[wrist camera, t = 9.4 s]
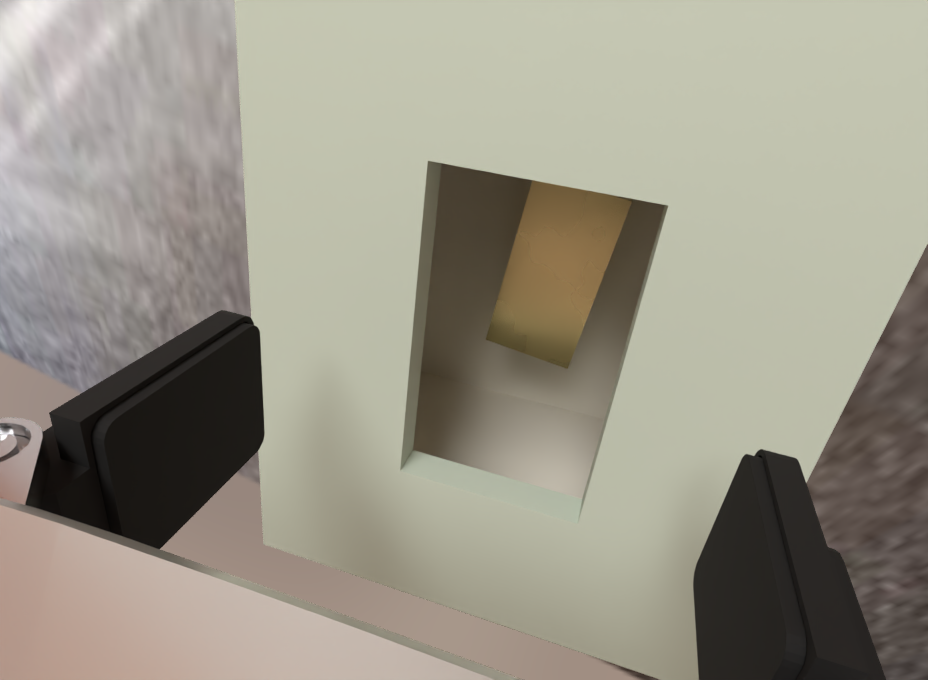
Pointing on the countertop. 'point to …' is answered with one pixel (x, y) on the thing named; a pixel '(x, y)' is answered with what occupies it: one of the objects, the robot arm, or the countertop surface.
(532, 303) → the block
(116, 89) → the countertop surface
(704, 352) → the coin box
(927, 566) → the countertop surface
